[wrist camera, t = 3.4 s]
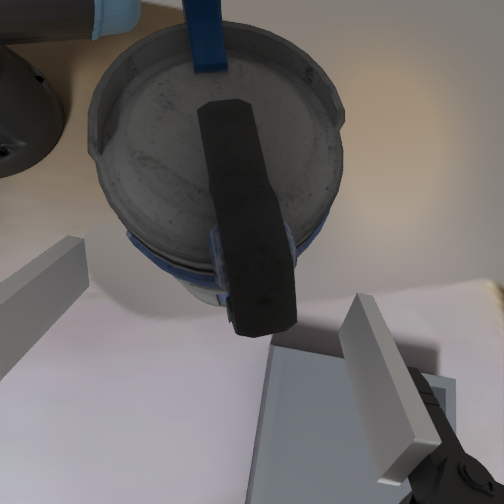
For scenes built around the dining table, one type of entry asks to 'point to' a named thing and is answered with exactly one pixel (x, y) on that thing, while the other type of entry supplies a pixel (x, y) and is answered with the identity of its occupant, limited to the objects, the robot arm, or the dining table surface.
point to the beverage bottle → (220, 159)
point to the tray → (319, 434)
